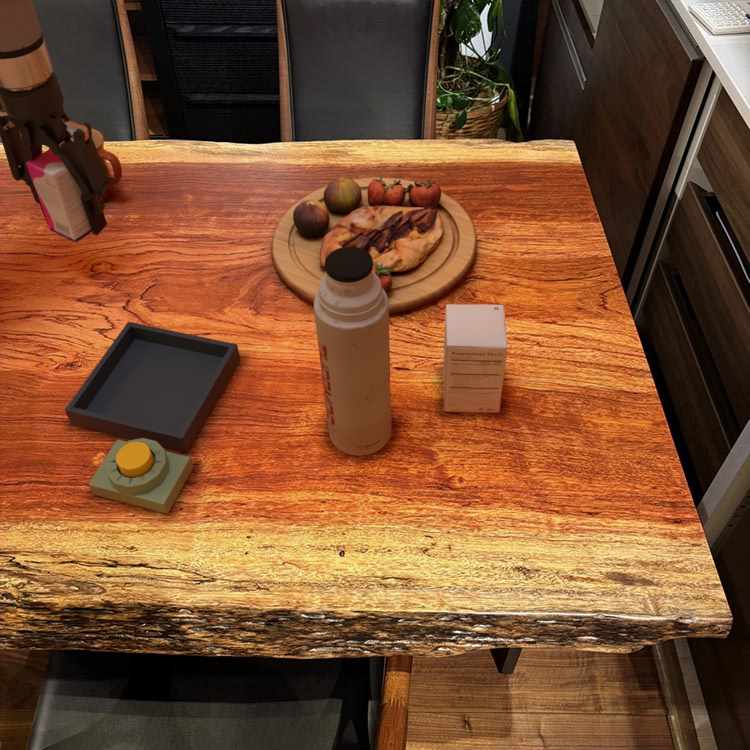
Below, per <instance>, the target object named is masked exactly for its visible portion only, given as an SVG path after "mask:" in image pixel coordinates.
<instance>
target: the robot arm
mask: <svg viewBox="0 0 750 750" xmlns="http://www.w3.org/2000/svg"><path fill="white" fill-rule="evenodd" d="M0 105H1V106H2V109H1V110H0V140H1V144H2V146H3V147H2V148H3V150H4V153H5V157H6V159H7V163H8V167H9V169H10V173H11V176H12V178H13V179H14V181H16V182H19V181H23V182H24V183H25V184H26V185H27V186H28V187H29V189H30V191H31V194H32V196H33V198H34V201H35V203H36V204H39V207H40V209H41V212H42V215H43V218H44V219H45V222H46V224H47V226H48V227H49V225H48V222H47V219H46V216H45V214H44V211H43V208H42V206H41V203H40V200H39V197H38V195H37V192H36V189H35V186H34V184H33V181H32V178H31V176H30V173H29V170H28V167H27V165H26V162H27V161H33V160H34V159H35V158H36V157H38V156H39V155H40V154H42V153H43V146H44V147H47V148H48V149H49V148H50V149H51V151H52V152H53V154H54V155H55V156H59V157H60V159H61V160H62V162H63V163H64V165H65V166H66V168H67V169H68V171H69V172H70V174H71V175H72V177H73V178H74V180H75V181H76V183H77V184H78V186H79V187H80V188H81V190H82V191H83V193H84V194H83V195H82V196H81V197H80V198H81V201H82V203H83V206H84V209H85V212H86V215H87V218H88V221H89V224H90V227H91V229H92V232H91V233H92V235H95V236H99V235H100V234H101V233H102V231H103V230H104V229H105V227H106V226H107V225H108V223H107V222H108V221H107V219H106V216H105V212H104V211H105V209H106V204H105V201H104V202H103V199H102V194H103V193H104V192H105V191H106V190H107V189H108V187H109V186H110V185H111V182H110V180H109V178H108V175H107V173H106V170H105V168H104V166H103V163H102V161H101V158H100V156H99V153H98V151H97V149H96V146H95V144H94V141H93V139H92V129H93V128H92V125H91V124H90V123H89V122H88V121H84V122H82V123H81V124H79V123H77V122H75V121H72V120H71V118H70V116H69V115H68V114H67V113H66V111H65V108H64V94H63V92H62V89H61V85H60V82H59V79H58V77H57V74H56V73H55V71H54V65H53V62H52V59H51V56H50V53H49V50H48V47H47V43H46V41H45V38H44V34H43V32H42V29H41V26H40V22H39V20H38V15H37V13H36V9H35V6H34V3H33V0H0ZM63 141H64V142H63ZM62 142H63V143H62ZM61 143H62V144H61ZM60 144H61V145H60ZM59 145H60V146H59Z"/></svg>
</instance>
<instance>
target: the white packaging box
mask: <svg viewBox="0 0 750 750" xmlns="http://www.w3.org/2000/svg"><path fill="white" fill-rule="evenodd" d="M505 313H506V310H505V304H470V303H469V304H466V303H465V304H460V303H459V304H458V303H457V304H453V303H452V304H446V305H445V315H444V316H445V317H444V336H443V337H444V339H443V340H444V341H443V367H442V369H443V374H442V375H443V412H445V413H446V412H449V413H450V412H451V413H487V414H489V413H490V414H491V413H494V414H495V413H500V410H501V402H502V393H503V386H504V378H505V371H506V363H507V356H508V347H509V346H508V337H507V323H506V314H505Z"/></svg>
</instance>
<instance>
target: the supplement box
mask: <svg viewBox="0 0 750 750" xmlns="http://www.w3.org/2000/svg"><path fill="white" fill-rule="evenodd" d="M26 165H27V167H28V170H29V173H30V176H31V178H32V181H33V184H34V186H35V189H36V192H37V195H38V197H39V200H40V203H41V206H42V208H43V211H44V214H45V216H46V219H47V222H48V224H47V226H48V225H49V226H48V227H49V230H50V231H51V232H53V233H55V234H57V235H58V236H61V237H63V238H66V239H67V240H69V241H71V242H73V243H75V244H77V243H79V242H81V240H83V239H84V238H86V237H87V236H89V235H91V234H92V233H93V232H92V229H91V227H90V224H89V221H88V218H87V215H86V212H85V209H84V206H83V203H82V201H81V198H80V197H81V196H82V195H83V194H84V193H83V191H82V190H81V188H80V187H79V186H78V184H77V183H76V181H75V180H74V178H73V177H72V175H71V174H70V172H69V171H68V169H67V168H66V166H65V165H64V163H63V162H62V160H61V159H60V157H59V156H55V155H54V154H53V152H52V151H51V149H49V148H48V149H46V150H45V151H44V152H43V151H42V154H40V155H39V156H38V157H36V158H35V159H34V160H33V161H27V162H26ZM41 206H40V207H41ZM44 214H43V215H44ZM46 219H45V220H46ZM47 222H46V223H47Z"/></svg>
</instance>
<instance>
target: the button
mask: <svg viewBox="0 0 750 750" xmlns="http://www.w3.org/2000/svg"><path fill="white" fill-rule="evenodd" d="M116 462H117V465H118V467H119V469H120V471H121V473H122V474H123V475H125V476H127V477H132V478H134V477H140V476H142V475H144V474H146V473H147V472H148V471H149V470H150V469H151V468H152V466H153V462H154V459H153V456H152V453H151V451H150V448H149V447H148V446H147V445H146V444H144V443H142V442H131V443H128V444H126V445H124V446H123V447H122V448H121V449H120V450H119V451H118V453H117V455H116Z"/></svg>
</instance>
